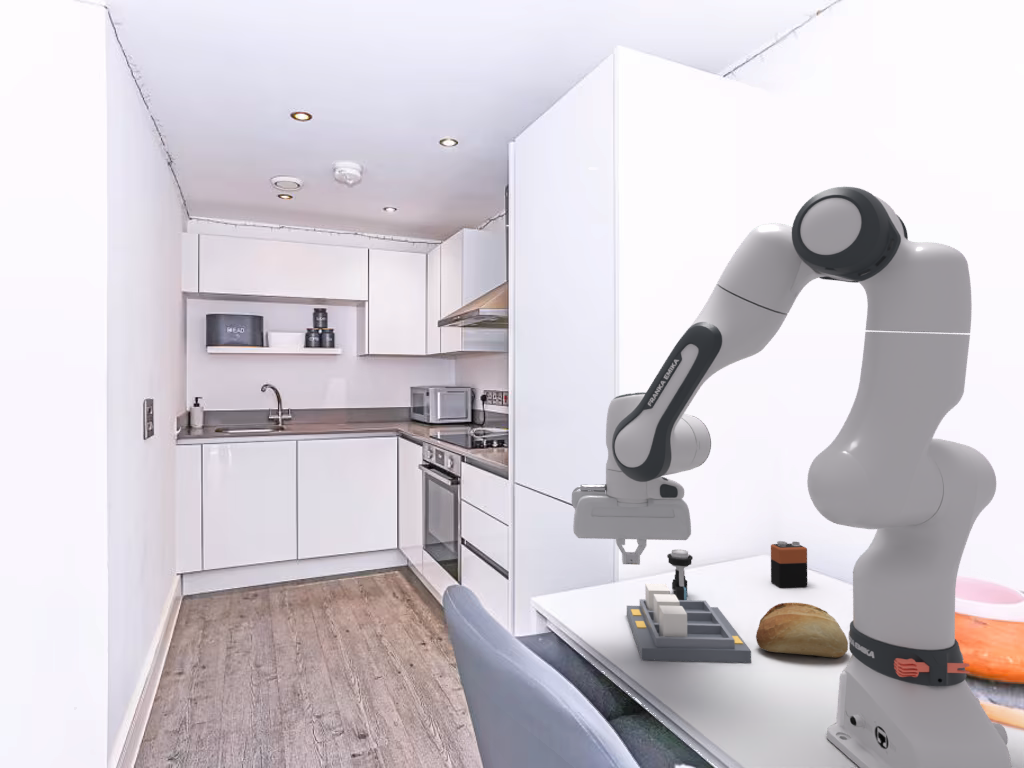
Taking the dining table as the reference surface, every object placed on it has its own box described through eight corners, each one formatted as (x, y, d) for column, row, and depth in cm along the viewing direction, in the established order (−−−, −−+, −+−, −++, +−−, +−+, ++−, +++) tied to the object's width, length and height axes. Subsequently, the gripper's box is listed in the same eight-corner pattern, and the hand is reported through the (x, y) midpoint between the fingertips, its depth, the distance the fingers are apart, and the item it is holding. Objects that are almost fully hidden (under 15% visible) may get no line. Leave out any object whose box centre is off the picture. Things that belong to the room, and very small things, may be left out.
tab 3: (687, 643, 103) (687, 614, 103) (663, 643, 104) (663, 613, 104) (682, 634, 107) (682, 605, 107) (659, 633, 108) (659, 605, 108)
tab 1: (670, 617, 115) (670, 590, 115) (648, 616, 116) (648, 590, 116) (666, 609, 119) (665, 584, 119) (645, 609, 120) (645, 583, 120)
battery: (770, 582, 142) (769, 540, 142) (797, 581, 143) (797, 539, 143) (780, 588, 138) (779, 544, 138) (808, 587, 138) (808, 544, 138)
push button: (663, 591, 136) (663, 546, 136) (687, 591, 136) (687, 546, 136) (670, 601, 130) (670, 554, 130) (695, 601, 129) (695, 555, 130)
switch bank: (751, 662, 101) (750, 641, 101) (641, 660, 102) (641, 639, 102) (717, 617, 121) (717, 599, 121) (626, 615, 122) (626, 598, 122)
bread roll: (747, 639, 110) (747, 595, 110) (832, 642, 109) (832, 597, 109) (765, 663, 101) (765, 615, 101) (858, 666, 100) (858, 617, 100)
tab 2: (679, 629, 109) (679, 602, 109) (657, 629, 110) (657, 601, 110) (675, 621, 113) (675, 594, 113) (653, 620, 114) (653, 594, 114)
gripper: (572, 487, 104) (572, 567, 104) (693, 489, 102) (693, 570, 102) (571, 481, 110) (570, 557, 110) (685, 482, 109) (685, 559, 109)
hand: (630, 563), depth 106 cm, fingers closed
